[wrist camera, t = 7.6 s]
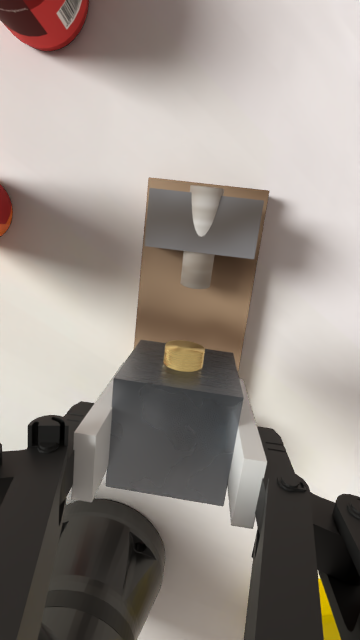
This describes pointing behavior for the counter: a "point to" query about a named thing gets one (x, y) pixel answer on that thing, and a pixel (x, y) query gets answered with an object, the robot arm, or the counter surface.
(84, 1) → the canned food
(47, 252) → the counter surface
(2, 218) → the coffee cup
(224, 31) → the counter surface
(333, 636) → the element tile
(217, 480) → the coupler
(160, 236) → the shaft stand
